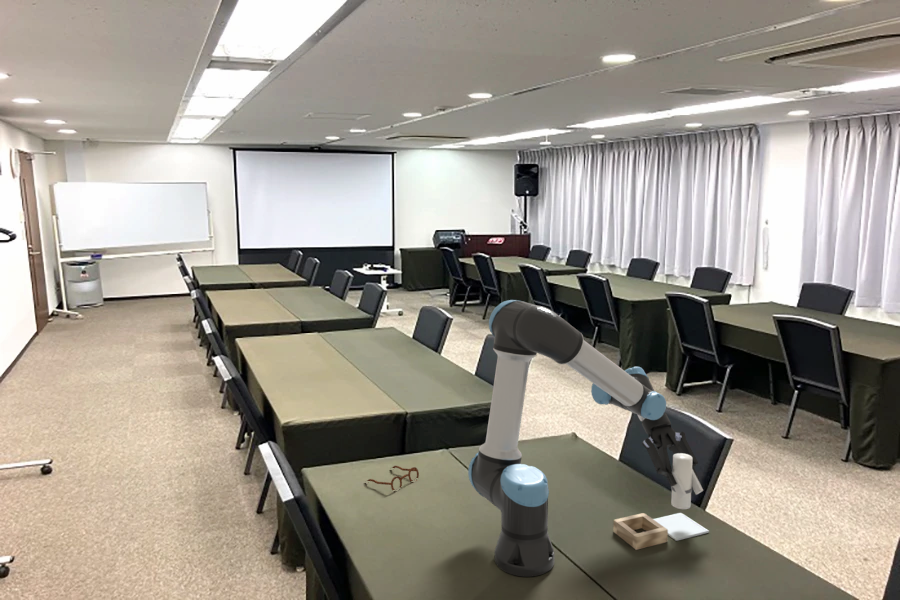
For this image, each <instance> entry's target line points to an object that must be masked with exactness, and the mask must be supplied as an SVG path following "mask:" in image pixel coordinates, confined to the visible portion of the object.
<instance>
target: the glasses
mask: <svg viewBox="0 0 900 600" xmlns="http://www.w3.org/2000/svg"><path fill="white" fill-rule="evenodd" d="M391 468H394V469H395V468H396V469H399V470H401V471H404V472H408V473H407V474H406V473H405V474H404V475H402V476H401V477H400V476H398V475H397V476H396V475H395V476H394V477H393V478H392V479H391V481H390V482H385V481H377V480H375V479H373V478H369V479H368V480H366V481H370V482H372V483H375V484H377V485H388V486H390V488H391V490H392V491H393V490H396V489H395V488H394V481H395V480H396V479H398V481H399V487H401V486H403V481H402V480H403V479H405V478H407V477H408V480H409V482H411V481H413V480H414V479H413V480H412V478H411V473H412V472H416V478H418V479H419V476H420V475H419V474H420V473H419V469H418V468H417V467H416V466H414V467H411V468H403V467H401V466H398V465H394V466H392V467H391ZM416 478H415V479H416ZM401 488H402V487H401Z"/></svg>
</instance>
